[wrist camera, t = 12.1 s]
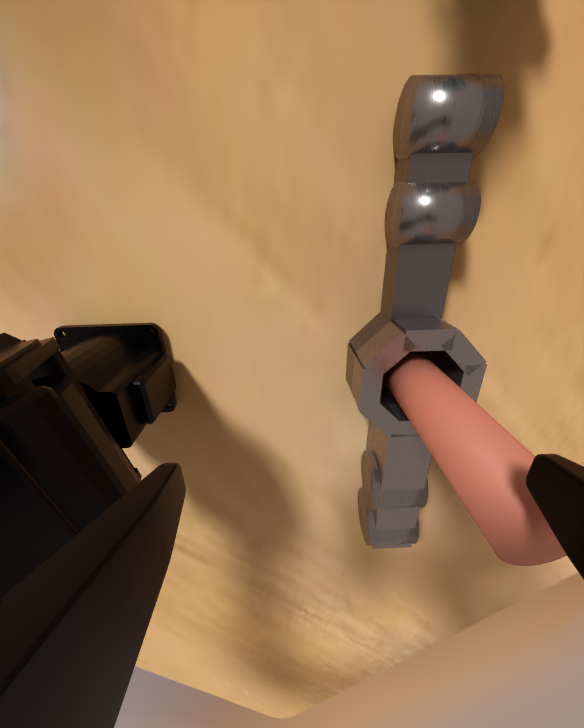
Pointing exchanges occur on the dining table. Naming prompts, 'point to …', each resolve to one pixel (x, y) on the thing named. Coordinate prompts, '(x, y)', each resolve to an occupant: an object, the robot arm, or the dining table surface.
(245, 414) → the dining table surface
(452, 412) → the pin
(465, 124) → the grey jointed bar
